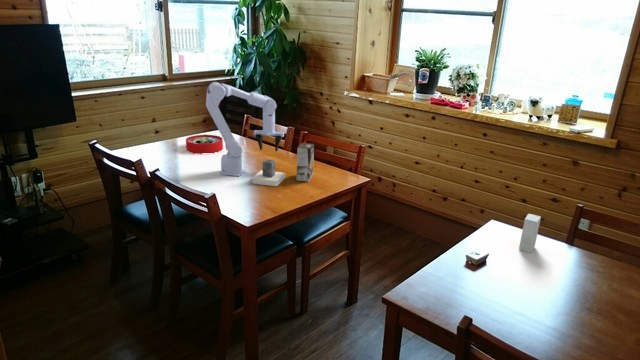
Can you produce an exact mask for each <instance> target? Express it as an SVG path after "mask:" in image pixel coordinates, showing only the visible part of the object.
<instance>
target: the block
mask: <svg viewBox="0 0 640 360" xmlns="http://www.w3.org/2000/svg"><path fill="white" fill-rule="evenodd" d="M262 170H263V177H271V178H272V177H273V176H274V175H275V172H276V160H275V159H264V160H263V161H262Z"/></svg>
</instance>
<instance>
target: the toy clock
mask: <svg viewBox="0 0 640 360" xmlns="http://www.w3.org/2000/svg"><path fill="white" fill-rule="evenodd" d="M223 144H224V139H223V137H222V136H219V135H215V134H196V135H191V136H188V137H187V138H185V146H186V147H185V148H186V149H187V150H188V151H189V152H188V151H187V150H186V151H187V152H188V153H190V152H193V153H192V154H194V153H212V154H216V153H215V152H217V153H219V151H220V152H221V150H222V149H224V145H223ZM222 151H223V150H222Z"/></svg>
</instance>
